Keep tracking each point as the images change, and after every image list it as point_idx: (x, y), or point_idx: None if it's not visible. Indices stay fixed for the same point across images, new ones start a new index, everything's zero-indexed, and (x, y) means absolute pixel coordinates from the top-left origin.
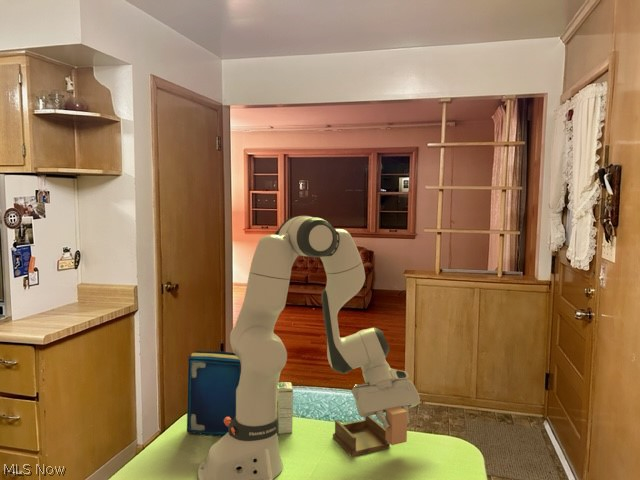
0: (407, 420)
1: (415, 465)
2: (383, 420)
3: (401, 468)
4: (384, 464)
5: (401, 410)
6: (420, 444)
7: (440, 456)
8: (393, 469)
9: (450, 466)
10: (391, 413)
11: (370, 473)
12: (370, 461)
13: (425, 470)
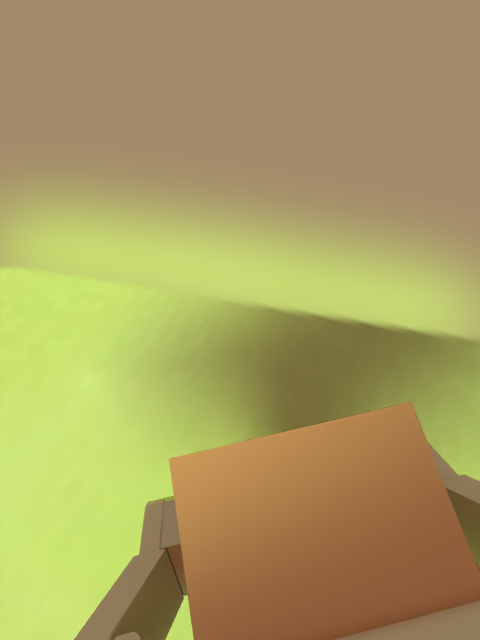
0: (170, 504)
1: (216, 368)
2: (472, 486)
3: (292, 356)
4: (368, 404)
5: (241, 506)
6: (78, 586)
7: (49, 423)
8: (333, 355)
9: (62, 333)
10: (420, 432)
11: (452, 343)
12: (439, 446)
13: (189, 323)
